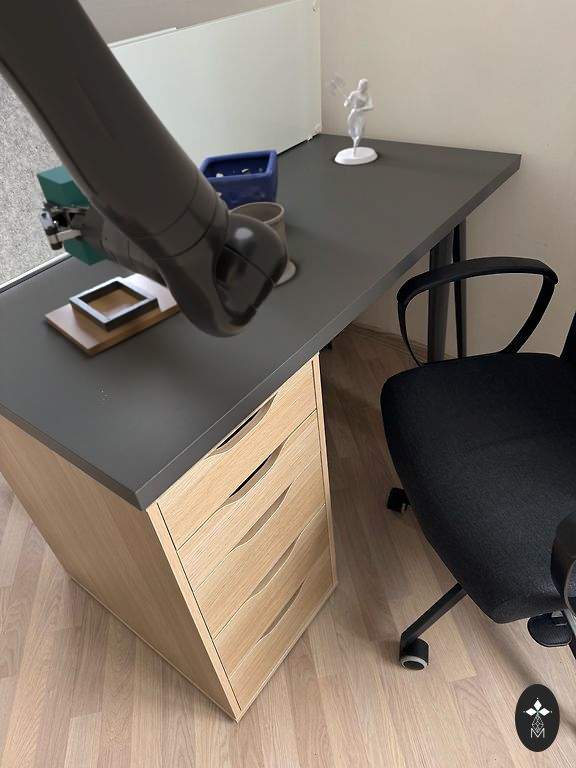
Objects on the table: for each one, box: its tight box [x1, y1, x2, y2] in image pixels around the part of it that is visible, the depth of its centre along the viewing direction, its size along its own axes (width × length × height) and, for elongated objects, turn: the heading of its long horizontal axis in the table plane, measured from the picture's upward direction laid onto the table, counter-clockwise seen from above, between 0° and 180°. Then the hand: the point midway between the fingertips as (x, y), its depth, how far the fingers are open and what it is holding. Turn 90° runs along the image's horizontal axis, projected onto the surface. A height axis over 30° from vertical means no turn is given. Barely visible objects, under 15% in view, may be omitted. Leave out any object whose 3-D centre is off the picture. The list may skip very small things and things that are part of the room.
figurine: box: [324, 72, 378, 166], centre depth 123 cm, size 10×10×18 cm
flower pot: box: [198, 149, 279, 210], centre depth 99 cm, size 13×13×12 cm
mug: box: [217, 192, 297, 286], centre depth 86 cm, size 14×10×12 cm
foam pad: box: [36, 164, 108, 267], centre depth 69 cm, size 4×7×10 cm, turn 43°
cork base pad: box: [43, 273, 181, 357], centre depth 83 cm, size 16×14×3 cm
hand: (67, 202), depth 70 cm, fingers closed on foam pad, 4 cm apart
